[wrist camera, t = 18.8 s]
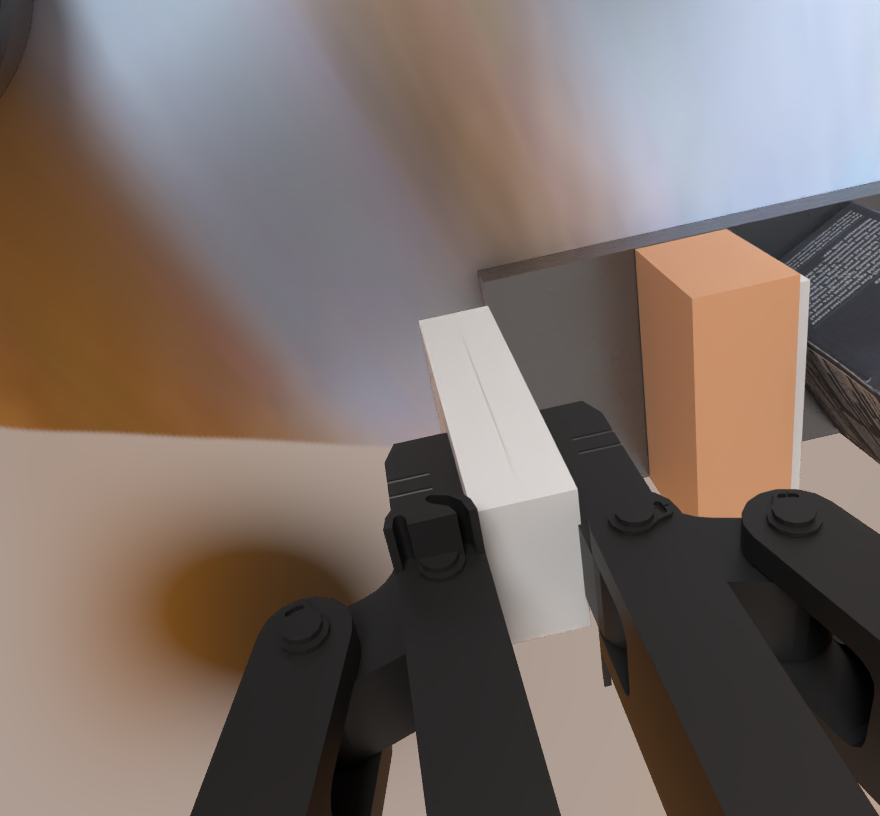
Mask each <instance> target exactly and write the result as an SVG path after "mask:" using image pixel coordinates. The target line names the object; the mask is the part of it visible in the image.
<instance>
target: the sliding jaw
mask: <svg viewBox="0 0 880 816" xmlns="http://www.w3.org/2000/svg"><path fill="white" fill-rule="evenodd" d="M635 257H636V272H637V287H638V302H639V317H640V333H641V348H642V363H643V378H644V393H645V409H646V424H647V439H648V454H649V469H650V478H651V479H652V481H653V483H654V484H655V486H656V487H657V489H658V491H659V492H660V494H661V495H662V496H663V497H666V498H668V499H670V500H671V501H672V502H673V503H674V504H675V505H676V506H677V507H678V508H679V509H680V511H681V512H682V513H683V514H688V515H692V516H697V517H710V518H741V515H742V511H743V509H744V507H745V505H746V503H747V501H749V500H750V499H752V498H753V497H755V496H756V495H758V494H759V493H763V492H767V491H771V490H775V489H798V490H799V485H800V466H801V446H802V428H803V409H804V389H805V370H806V351H807V331H808V312H809V293H810V280H809V279H808V278H806V277H804V276H803V275H801V274H800V273H798V272H796V271H795V270H793V269H791V268H790V267H788V266H786V265H785V264H783V263H782V262H780V261H778V260H777V259H775V258H773V257H772V256H770V255H769V254H767V253H765V252H764V251H762V250H760V249H759V248H757V247H755V246H754V245H752V244H751V243H749V242H747V241H746V240H744V239H742V238H741V237H739V236H737V235H736V234H734V233H732V232H731V231H729V230H727V229H723V230H719V231H714V232H710V233H705V234H701V235H696V236H692V237H687V238H683V239H679V240H674V241H670V242H665V243H661V244H656V245H652V246H647V247H643V248H638V249H635Z"/></svg>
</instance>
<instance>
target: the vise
mask: <svg viewBox="0 0 880 816" xmlns="http://www.w3.org/2000/svg"><path fill="white" fill-rule="evenodd" d="M852 202H854V203H857V204H859V205H862V206H865V207H867V208H870V209H872V210H875V211H878V212H880V181H878V182H873V183H869V184H864V185H860V186H855V187H851V188H846V189H842V190H837V191H833V192H828V193H824V194H820V195H815V196H811V197H806V198H802V199H797V200H793V201H788V202H784V203H779V204H775V205H771V206H766V207H762V208H757V209H753V210H748V211H744V212H739V213H735V214H730V215H726V216H721V217H717V218H713V219H708V220H704V221H699V222H695V223H690V224H686V225H681V226H677V227H672V228H668V229H663V230H659V231H655V232H650V233H646V234H641V235H637V236H632V237H628V238H623V239H619V240H614V241H610V242H606V243H601V244H597V245H592V246H588V247H583V248H579V249H574V250H570V251H565V252H561V253H556V254H552V255H548V256H543V257H539V258H534V259H530V260H525V261H521V262H516V263H512V264H507V265H503V266H498V267H494V268H490V269H485V270H481V271H478V277H479V283H480V288H481V294H482V300H483V306H488V307H489V309H490V311H491V313H492V315H493V317H494V319H495V321H496V323H497V325H498V327H499V329H500V331H501V334H502V336H503V338H504V340H505V342H506V344H507V346H508V348H509V350H510V352H511V354H512V356H513V358H514V360H515V362H516V364H517V366H518V368H519V370H520V372H521V374H522V376H523V379H524V381H525V383H526V385H527V387H528V389H529V391H530V393H531V395H532V397H533V399H534V401H535V403H536V405H537V407H538V409H539V410H542V409H546V408H551V407H555V406H560V405H564V404H569V403H573V402H578V401H584V402H585V403H587V404H589V405H590V406H592V407H594V408H595V409H597V410H599V411H600V412H602V413H603V415H604V417H605V418H606V420H607V421H608V423H609V425H610V426H611V428H612V431H613V432H614V433H615V434H616V436H617V437H618V439H619V441H620V443H621V446H622V445H623V447H624V449H625V450H626V452H627V453H628V455H629V457H630V458H631V460H632V461H633V463H634V465H635V466H636V468H637V469H638V471H639V473H640V474H641V476H642V477H643V478H644V477H648V476H650V469H649V454H648V439H647V424H646V409H645V393H644V378H643V363H642V348H641V333H640V317H639V302H638V287H637V272H636V257H635V249H638V248H643V247H647V246H652V245H656V244H661V243H665V242H670V241H674V240H679V239H683V238H687V237H692V236H696V235H701V234H705V233H710V232H714V231H719V230H723V229H727V230H729V231H731V232H732V233H734V234H736V235H737V236H739V237H741V238H742V239H744V240H746V241H747V242H749V243H751V244H752V245H754V246H755V247H757V248H759V249H760V250H762V251H764V252H765V253H767V254H769V255H770V256H772V257H773V258H775V259H777V260H778V261H779V260H780V259H781V258H782V257H784V256H785V255H786V254H787V253H789V252H790V251H791V250H792V249H793V248H795V247H796V246H797V245H798V244H800V243H801V242H802V241H803V240H805V239H806V238H807V237H808V236H810V235H811V234H812V233H813V232H815V231H816V230H817V229H818V228H820V227H821V226H822V225H823V224H824V223H826V222H827V221H828V220H830V219H831V218H832V217H833V216H835V215H836V214H837V213H838V212H840V211H841V210H842V209H843V208H845V207H846V206H848V205H849V204H850V203H852ZM837 433H840V432H839V431H838V429H837V428H836V426H835V425H834V424H833V423H832V421H831V420H830V419H829V417H828V416H827V415H826V413H825V412H824V411H823V410H822V409H821V407H820V406H819V405H818V404H817V402H816V400H815V399H814V398H813V396H812V395H811V394H810V393H809V392H808V390H807V389H806V388H805V389H804V409H803V428H802V441H806V440H810V439H815V438H819V437H823V436H828V435H832V434H837Z"/></svg>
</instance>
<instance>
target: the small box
mask: <svg viewBox="0 0 880 816" xmlns="http://www.w3.org/2000/svg"><path fill="white" fill-rule="evenodd" d="M779 261H780V262H782V263H783V264H785V265H786V266H788V267H790V268H791V269H793V270H795V271H796V272H798V273H800V274H801V275H803V276H804V277H806V278H808V279H809V280H810V293H809V312H808V331H807V351H806V370H805V388H806V389H807V390H808V392H809V393H810V394H811V395H812V396H813V398H814V399H815V400H816V402H817V404H818V405H819V406H820V407H821V409H822V410H823V411H824V412H825V413H826V415H827V416H828V417H829V419H830V420H831V421H832V423H833V424H834V425H835V426H836V428H837V429H838V431H839V432H840V433H841V434H842V435H844V436H845V437H846V438H847V439H849V440H850V441H851V442H852V443H854V444H855V445H856V446H858V447H859V448H860V449H862V450H863V451H864V452H865V453H867V454H868V455H869V456H870V457H872V458H873V459H874V460H876V461H877V462H878V463H879V464H880V212H878V211H875V210H872V209H870V208H867V207H865V206H862V205H859V204H857V203H854V202H852V203H850V204H849V205H848V206H846V207H845V208H843V209H842V210H841V211H840V212H838V213H837V214H836V215H835V216H833V217H832V218H831V219H830V220H828V221H827V222H826V223H824V224H823V225H822V226H821V227H820V228H818V229H817V230H816V231H815V232H813V233H812V234H811V235H810V236H808V237H807V238H806V239H805V240H803V241H802V242H801V243H800V244H798V245H797V246H796V247H795V248H793V249H792V250H791V251H790V252H789V253H787V254H786V255H785V256H784V257H782V258H781V259H780V260H779Z"/></svg>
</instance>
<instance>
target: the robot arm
mask: <svg viewBox="0 0 880 816" xmlns="http://www.w3.org/2000/svg"><path fill="white" fill-rule="evenodd" d="M32 10H33V0H0V96H1V95H2V94H3V92H4V91H5V89H6V87H7V86H8V84H9V83H10V81H11V79H12V77H13V75H14V73H15V71H16V69H17V67H18V64H19V62H20V60H21V57H22V54H23V51H24V48H25V45H26V42H27V38H28V33H29V29H30V24H31V17H32ZM419 326H420V331H421V335H422V340H423V345H424V350H425V355H426V360H427V365H428V369H429V374H430V379H431V384H432V389H433V394H434V399H435V403H436V408H437V413H438V418H439V423H440V428H441V432H442V434H438V435H433V436H429V437H424V438H420V439H415V440H411V441H406V442H402V443H397V444H394V445H393V447H392V449H391V451H390V453H389V455H388V457H387V459H386V461H385V469H386V477H387V483H388V492H389V497H390V507H391V511H390V512H389V514H388V515H387V516H386V518H385V523H384V529H383V531H384V535H385V538H386V542H387V545H388V549H389V553H390V556H391V560H392V563H393V567H394V570H393V572H392V574H391V575H390V577H389V578H388V579H387V581H386V582H385V583H384V584H383V585H382V586H381V587H380V588H379V589H378V590H377V591H375V592H374V593H372V594H370V595H369V596H367V597H365V598H364V599H362V600H360V601H358V602H356V603H354V604H352V605H350V606H348V607H346V606H345V605H344V604H342V603H340V602H338V601H336V600H334V599H333V598H325V597H311V598H306V599H301V600H297V601H295V602H293V603H291V604H289V605H287V606H285V607H283V608H281V609H280V610H279V611H278V612H276V613H275V614H274V615H273V616H272V617H271V618H269V619H268V620H267V622H266V623H265V625H264V626H263V628H262V630H261V631H260V633H259V635H258V637H257V640H256V643H255V645H254V648H253V650H252V653H251V656H250V658H249V661H248V664H247V666H246V669H245V672H244V674H243V677H242V680H241V682H240V685H239V687H238V690H237V693H236V695H235V698H234V701H233V703H232V706H231V709H230V711H229V714H228V717H227V719H226V722H225V725H224V728H223V730H222V733H221V735H220V738H219V741H218V743H217V746H216V749H215V751H214V754H213V757H212V759H211V762H210V765H209V767H208V770H207V773H206V775H205V778H204V780H203V783H202V786H201V788H200V791H199V794H198V796H197V799H196V802H195V804H194V807H193V810H192V812H191V815H190V816H382V811H383V805H384V799H385V793H386V787H387V781H388V775H389V769H390V763H391V756H392V745H393V744H394V743H396V742H398V741H400V740H401V739H403V738H405V737H406V736H408V735H410V734H412V733H414V732H415V731H416V736H417V744H418V752H419V759H420V767H421V775H422V783H423V790H424V798H425V806H426V813H427V816H561V814H560V811H559V808H558V804H557V800H556V797H555V793H554V790H553V786H552V783H551V779H550V776H549V772H548V769H547V765H546V762H545V759H544V755H543V751H542V748H541V744H540V741H539V737H538V734H537V731H536V727H535V723H534V720H533V717H532V713H531V710H530V706H529V702H528V699H527V696H526V692H525V689H524V686H523V682H522V678H521V675H520V671H519V668H518V664H517V661H516V657H515V654H514V650H513V647H512V644H515V643H520V642H524V641H528V640H533V639H537V638H541V637H546V636H550V635H554V634H558V633H563V632H567V631H571V630H576V629H580V628H584V627H589V626H591V619H590V609H589V606H590V608H591V610H592V613H593V615H594V617H595V620H596V622H597V625H598V628H599V638H600V648H601V660H602V670H603V679H604V686H605V687H606V686H610V685H612V684H611V678H612V680H613V683H614V685H615V688H616V690H617V693H618V695H619V698H620V700H621V703H622V705H623V708H624V710H625V713H626V715H627V717H628V720H629V722H630V725H631V727H632V730H633V732H634V735H635V737H636V740H637V742H638V745H639V747H640V750H641V752H642V755H643V757H644V760H645V762H646V764H647V767H648V769H649V772H650V774H651V777H652V779H653V782H654V784H655V787H656V789H657V792H658V794H659V797H660V799H661V802H662V804H663V807H664V809H665V811H666V814H667V816H879V815H878V813H877V812H876V810H875V809H874V807H873V806H872V804H871V803H870V801H869V799H868V798H867V796H866V795H865V793H864V792H863V790H862V789H861V787H860V786H859V784H860V785H861V786H862V787H863V788H864V789H865V791H866V792H867V793H868V794H869V795H870V796H871V797H872V798H873V799H874V800H875V801H876V802H877V803H878V804H879V805H880V534H878V533H877V532H875V531H874V530H873V529H871V528H870V527H868V526H867V525H865V524H864V523H862V522H861V521H860V520H858V519H857V518H855V517H854V516H852V515H851V514H849V513H848V512H846V511H845V510H843V509H842V508H841V507H839V506H838V505H836V504H835V503H833V502H832V501H830V500H828V499H825V498H824V497H821V496H820V495H817V494H815V493H811V492H807V491H802V490H798V489H775V490H771V491H767V492H763V493H759V494H758V495H756V496H755V497H753V498H752V499H750V500H749V501H747V503H746V505H745V507H744V509H743V511H742V515H741V518H710V517H697V516H692V515H688V514H683V513H682V512H681V511H680V509H679V508H678V507H677V506H676V505H675V504H674V503H673V502H672V501H671V500H670V499H668V498H666V497H663V496H661V495H658V494H656V493H653V492H651V490H650V489H649V487H648V485H647V484H646V482H645V481H644V479H643V477H642V476H641V474H640V473H639V471H638V469H637V468H636V466H635V465H634V463H633V461H632V460H631V458H630V457H629V455H628V453H627V452H626V450H625V449H624V447H623V445H622V446H621V443H620V441H619V439H618V437H617V436H616V434H615V433H614V432H613V431H612V428H611V426H610V425H609V423H608V421H607V420H606V418H605V417H604V415H603V413H602V412H600V411H599V410H597V409H595V408H594V407H592V406H590V405H589V404H587V403H585V402H584V401H578V402H573V403H569V404H564V405H560V406H555V407H551V408H546V409H542V410H539V409H538V407H537V405H536V403H535V401H534V399H533V397H532V395H531V393H530V391H529V389H528V387H527V385H526V383H525V381H524V379H523V376H522V374H521V372H520V370H519V368H518V366H517V364H516V362H515V360H514V358H513V356H512V354H511V352H510V350H509V348H508V346H507V344H506V342H505V340H504V338H503V336H502V334H501V331H500V329H499V327H498V325H497V323H496V321H495V319H494V317H493V315H492V313H491V311H490V309H489V307H488V306H484V307H479V308H474V309H470V310H465V311H461V312H456V313H452V314H447V315H442V316H438V317H433V318H429V319H424V320H419ZM857 782H858V783H859V784H858V783H857Z"/></svg>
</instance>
